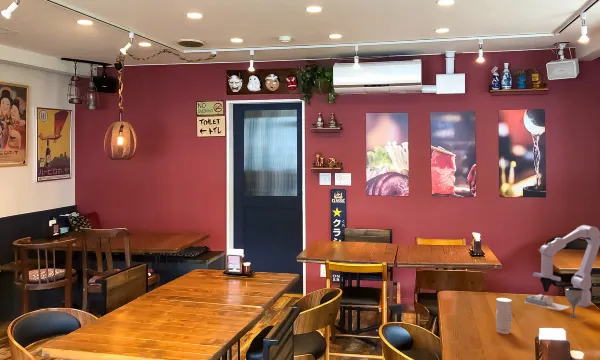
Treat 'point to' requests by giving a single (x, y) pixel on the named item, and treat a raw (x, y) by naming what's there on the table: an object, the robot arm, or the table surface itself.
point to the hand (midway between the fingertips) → (546, 291)
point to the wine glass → (573, 297)
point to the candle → (503, 315)
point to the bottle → (544, 299)
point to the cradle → (544, 303)
